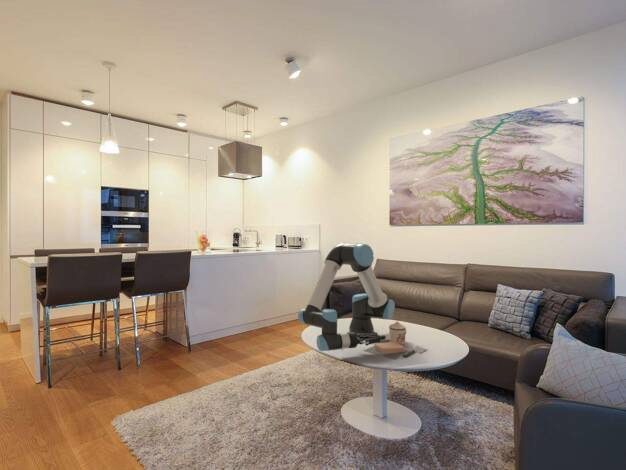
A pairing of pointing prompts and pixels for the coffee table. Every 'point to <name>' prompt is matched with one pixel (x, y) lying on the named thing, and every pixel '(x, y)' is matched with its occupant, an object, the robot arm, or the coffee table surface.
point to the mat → (391, 356)
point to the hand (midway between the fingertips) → (389, 336)
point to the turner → (416, 349)
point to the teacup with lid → (397, 333)
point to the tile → (389, 348)
